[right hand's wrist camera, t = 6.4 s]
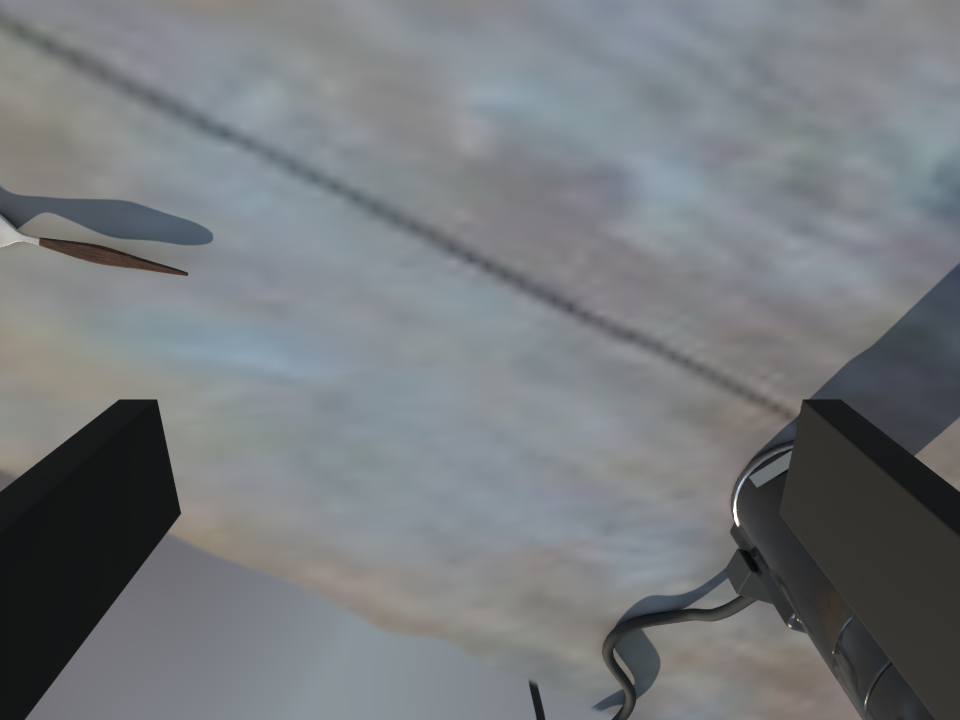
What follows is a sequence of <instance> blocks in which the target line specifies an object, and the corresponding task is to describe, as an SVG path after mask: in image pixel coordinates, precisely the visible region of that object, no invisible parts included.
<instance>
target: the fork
mask: <svg viewBox="0 0 960 720" xmlns="http://www.w3.org/2000/svg"><path fill="white" fill-rule="evenodd" d="M19 241H25V242H30V243H33V244H37V245H40V246H43V247H46V248H49V249H52V250H55V251H58V252H61V253H64V254H66V255H69V256H73V257H76V258H79V259H82V260H85V261H89V262H93V263H97V264H103V265H110V266H117V267H126V268H134V269H142V270H149V271H156V272H162V273H169V274H176V275H185V276H188V273H187V272H184V271H181V270H178V269H175V268H172V267H169V266H165V265H162V264H158V263H155V262H152V261H148V260H145V259H142V258H139V257H136V256H132V255H129V254H126V253H123V252H120V251H117V250H114V249H111V248H108V247H104V246H100V245H95V244H89V243H82V242H74V241H65V240H57V239H48V238H40V237H33V236H29V235H25V234H23V233H21V232H20V231H19V230H17V229H16V228H15V227H14V226H13V225H12V224H11V223H10V222H9V221H8V220H7V219H5V218H4V217H3V216H2V215H1V214H0V247H4V246H7V245H10V244H12V243H15V242H19Z"/></svg>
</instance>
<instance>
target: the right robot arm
mask: <svg viewBox="0 0 960 720" xmlns="http://www.w3.org/2000/svg"><path fill="white" fill-rule="evenodd" d="M180 514H181V511H180V506H179V502H178V497H177V492H176V487H175V482H174V478H173V473H172V468H171V463H170V459H169V454H168V449H167V444H166V440H165V435H164V430H163V425H162V420H161V416H160V411H159V406H158V401H157V400H118V401H117V402H116V403H114V404H113V405H112V406H110V407H109V408H108V409H107V410H105V411H104V412H103V413H101V414H100V415H99V416H98V417H96V418H95V419H94V420H92V421H91V422H90V423H89V424H87V425H86V426H85V427H83V428H82V429H81V430H80V431H78V432H77V433H76V434H74V435H73V436H72V437H71V438H69V439H68V440H67V441H65V442H64V443H63V444H61V445H60V446H59V447H58V448H56V449H55V450H54V451H52V452H51V453H50V454H49V455H47V456H46V457H45V458H43V459H42V460H41V461H40V462H38V463H37V464H36V465H34V466H33V467H32V468H31V469H29V470H28V471H27V472H25V473H24V474H23V475H22V476H20V477H19V478H18V479H16V480H15V481H14V482H13V483H11V484H10V485H9V486H7V487H6V488H5V489H4V490H2V491H1V492H0V720H25V718H26V717H27V716H28V715H29V713H30V712H31V711H32V709H33V708H34V707H35V705H36V704H37V703H38V701H39V700H40V699H41V697H42V696H43V695H44V693H45V692H46V691H47V690H48V688H49V687H50V686H51V684H52V683H53V682H54V680H55V679H56V678H57V676H58V675H59V674H60V672H61V671H62V670H63V668H64V667H65V666H66V665H67V663H68V662H69V661H70V659H71V658H72V657H73V655H74V654H75V653H76V651H77V650H78V649H79V647H80V646H81V645H82V643H83V642H84V641H85V640H86V638H87V637H88V636H89V634H90V633H91V632H92V630H93V629H94V628H95V626H96V625H97V624H98V622H99V621H100V620H101V618H102V617H103V616H104V614H105V613H106V612H107V611H108V609H109V608H110V607H111V605H112V604H113V603H114V601H115V600H116V599H117V597H118V596H119V595H120V593H121V592H122V591H123V589H124V588H125V587H126V585H127V584H128V583H129V582H130V580H131V579H132V578H133V576H134V575H135V574H136V572H137V571H138V570H139V568H140V567H141V566H142V564H143V563H144V562H145V560H146V559H147V558H148V556H149V555H150V554H151V552H152V551H153V550H154V549H155V547H156V546H157V545H158V543H159V542H160V541H161V539H162V538H163V537H164V535H165V534H166V533H167V531H168V530H169V529H170V527H171V526H172V525H173V524H174V522H175V521H176V520H177V518H178V517H179V516H180ZM779 514H780V516H781V517H782V518H783V520H784V521H785V522H786V524H787V525H788V526H789V527H790V529H791V530H792V531H793V533H794V534H795V535H796V537H797V538H798V539H799V541H800V542H801V543H802V545H803V546H804V547H805V549H806V550H807V551H808V553H809V554H810V555H811V556H812V558H813V559H814V560H815V562H816V563H817V564H818V566H819V567H820V568H821V570H822V571H823V572H824V574H825V575H826V576H827V578H828V579H829V580H830V582H831V583H832V584H833V585H834V587H835V588H836V589H837V591H838V592H839V593H840V595H841V596H842V597H843V599H844V600H845V601H846V603H847V604H848V605H849V607H850V608H851V609H852V611H853V612H854V613H855V614H856V616H857V617H858V618H859V620H860V621H861V622H862V624H863V625H864V626H865V628H866V629H867V630H868V632H869V633H870V634H871V636H872V637H873V638H874V640H875V641H876V642H877V643H878V645H879V646H880V647H881V649H882V650H883V651H884V653H885V654H886V655H887V657H888V658H889V659H890V661H891V662H892V663H893V665H894V666H895V667H896V668H897V670H898V671H899V672H900V674H901V675H902V676H903V678H904V679H905V680H906V682H907V683H908V684H909V686H910V687H911V688H912V690H913V691H914V692H915V694H916V695H917V696H918V697H919V699H920V700H921V701H922V703H923V704H924V705H925V707H926V708H927V709H928V711H929V712H930V713H931V715H932V716H933V717H934V719H935V720H960V492H959V491H958V490H956V489H955V488H954V487H953V486H951V485H950V484H949V483H947V482H946V481H945V480H944V479H942V478H941V477H940V476H938V475H937V474H936V473H935V472H933V471H932V470H931V469H929V468H928V467H927V466H926V465H924V464H923V463H922V462H920V461H919V460H918V459H917V458H915V457H914V456H913V455H911V454H910V453H909V452H908V451H906V450H905V449H904V448H902V447H901V446H900V445H899V444H897V443H896V442H895V441H893V440H892V439H891V438H889V437H888V436H887V435H886V434H884V433H883V432H882V431H880V430H879V429H878V428H877V427H875V426H874V425H873V424H871V423H870V422H869V421H868V420H866V419H865V418H864V417H862V416H861V415H860V414H859V413H857V412H856V411H855V410H853V409H852V408H851V407H850V406H848V405H847V404H846V403H844V402H843V401H842V400H803V401H802V406H801V411H800V416H799V420H798V425H797V430H796V435H795V440H794V444H793V449H792V454H791V459H790V463H789V468H788V473H787V478H786V482H785V487H784V492H783V497H782V502H781V506H780V511H779Z"/></svg>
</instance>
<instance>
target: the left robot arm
mask: <svg viewBox="0 0 960 720" xmlns="http://www.w3.org/2000/svg"><path fill="white" fill-rule="evenodd" d="M793 444H794V442H789V443H785V444H782V445H779V446H776V447H774V448H772V449H770V450H768V451H766V452H764V453H763V454H761V455H760V456H758V457H757V458H756V459H754V460H753V461H752V462H751V463H750V464H749V465H748V466H747V467H746V468H745V469H744V471H743V472H742V473H741V475H740V476H739V478H738V480H737V482H736V484H735V486H734V489H733V492H732V496H731V512H732V516H733V519H734V521H735V522H734V525H733V527H732V529H731V531H730V533H731V535H732V537H733V538H734V540H735V542H736V543H737V545H738V547H739V548H740V549H737V550H736V552H735V554H734V556H733V557H732V559H731V561H730V562H729V564H728V566H727V567H726V569H725V573H726V575H727V576H728V578H729V580H730V582H731V584H732V586H733V588H734V589H735V591H736V593H737V594H738V595H740V596H739V597H737V598H736V599H734V600H732V601H731V602H729V603H727V604H725V605H723V606H720V607H717V608H714V609H684V610H678V611H672V612H664V613H657V614H650V615H645V616H640V617H636V618H633V619H630V620H628V621H626V622H623V623H622V624H620V625H618V626H617V627H616V628H614V629H613V630H612V631H611V632H610V633H609V635H608V636H607V638H606V640H605V642H604V644H603V650H602V654H603V659H604V661H605V663H606V665H607V667H608V668H609V670H610V671H611V673H612V674H613V675H614V677H615V678H616V679H617V681H618V682H619V683H620V684H621V686H622V687H623V689H624V692H625V695H626V699H625V702H624V704H623V706H622V708H621V709H620V711H619V712H618V713H617V714H616V716H615V717H614V718H613V719H612V720H627V719H628V717H629V716H630V714H631V713H632V711H633V709H634V706H635V703H636V693H635V689H634V687H633V685H632V683H631V681H630V680H629V678H628V677H627V676H626V674H625V673H624V672H623V670H622V669H621V668H620V666H619V665H618V664H617V662H616V660H615V658H614V655H613V649H614V647H615V645H616V643H617V642H618V641H619V640H620V639H621V638H622V637H623V636H625V635H626V634H628V633H630V632H632V631H635V630H638V629H641V628H645V627H650V626H656V625H664V624H671V623H678V622H685V621H691V620H698V621H718V620H721V619H724V618H727V617H730V616H732V615H734V614H736V613H738V612H739V611H741V610H743V609H744V608H746V607H747V606H749V605H750V604H752V603H754V602H755V601H757V600H760V601H763V602H767V603H771V604H774V606H775V608H776V609H777V611H778V613H779V614H780V616H781V618H782V619H783V621H784V623H785V624H786V625H787V626H788V627H789V628H791V629H793V630H796V631H799V632H803V633H807V634H808V636H809V637H810V639H811V640H812V642H813V643H814V645H815V647H816V648H817V650H818V651H819V653H820V654H821V656H822V658H823V659H824V661H825V662H826V664H827V665H828V667H829V668H830V670H831V672H832V673H833V675H834V676H835V678H836V679H837V681H838V682H839V684H840V685H841V687H842V688H843V690H844V692H845V693H846V695H847V696H848V698H849V699H850V701H851V703H852V704H853V706H854V707H855V709H856V710H857V712H858V714H859V715H860V717H861V718H862V720H935V719H934V717H933V716H932V715H931V713H930V712H929V711H928V709H927V708H926V707H925V705H924V704H923V703H922V701H921V700H920V699H919V697H918V696H917V695H916V694H915V692H914V691H913V690H912V688H911V687H910V686H909V684H908V683H907V682H906V680H905V679H904V678H903V676H902V675H901V674H900V672H899V671H898V670H897V668H896V667H895V666H894V665H893V663H892V662H891V661H890V659H889V658H888V657H887V655H886V654H885V653H884V651H883V650H882V649H881V647H880V646H879V645H878V643H877V642H876V641H875V640H874V638H873V637H872V636H871V634H870V633H869V632H868V630H867V629H866V628H865V626H864V625H863V624H862V622H861V621H860V620H859V618H858V617H857V616H856V614H855V613H854V612H853V611H852V609H851V608H850V607H849V605H848V604H847V603H846V601H845V600H844V599H843V597H842V596H841V595H840V593H839V592H838V591H837V589H836V588H835V587H834V585H833V584H832V583H831V582H830V580H829V579H828V578H827V576H826V575H825V574H824V572H823V571H822V570H821V568H820V567H819V566H818V564H817V563H816V562H815V560H814V559H813V558H812V556H811V555H810V554H809V553H808V551H807V550H806V549H805V547H804V546H803V545H802V543H801V542H800V541H799V539H798V538H797V537H796V535H795V534H794V533H793V531H792V530H791V529H790V527H789V526H788V525H787V524H786V522H785V521H784V520H783V518H782V517H781V516H780V514H779V511H780V506H781V502H782V497H783V492H784V487H785V482H786V478H787V473H788V468H789V463H790V459H791V454H792V449H793ZM528 681H529V680H528ZM529 687H530V692H531V696H532V701H533V705H534V710H535V714H536V720H545V714H544V709H543V705H542V701H541V697H540V693H539V689H538V684H537V683H533V682H532V681H529Z"/></svg>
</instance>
